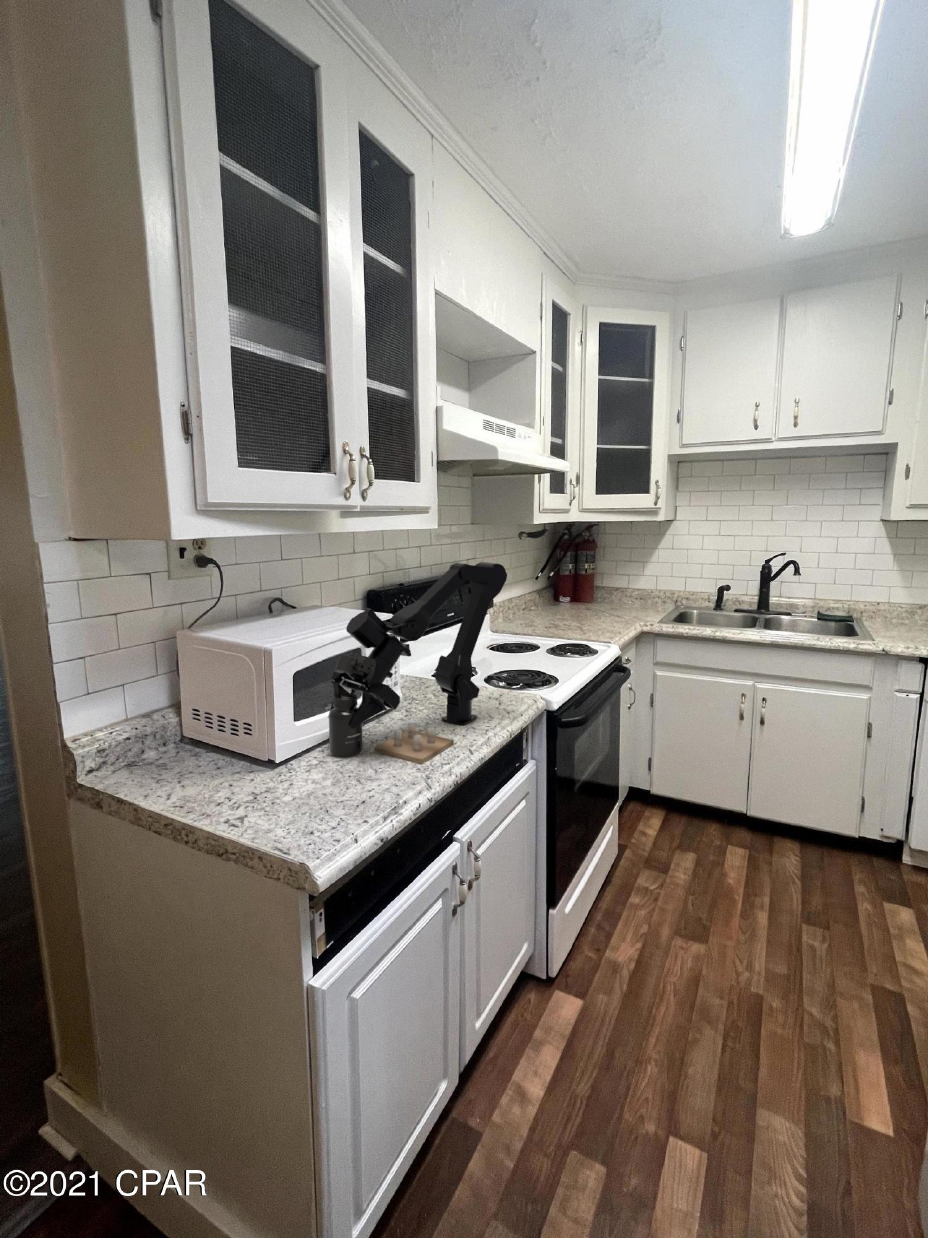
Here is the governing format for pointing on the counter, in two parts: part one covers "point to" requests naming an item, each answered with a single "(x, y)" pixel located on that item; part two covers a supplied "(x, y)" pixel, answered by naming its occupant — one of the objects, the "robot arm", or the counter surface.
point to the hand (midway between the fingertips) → (340, 723)
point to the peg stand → (414, 745)
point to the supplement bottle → (344, 727)
